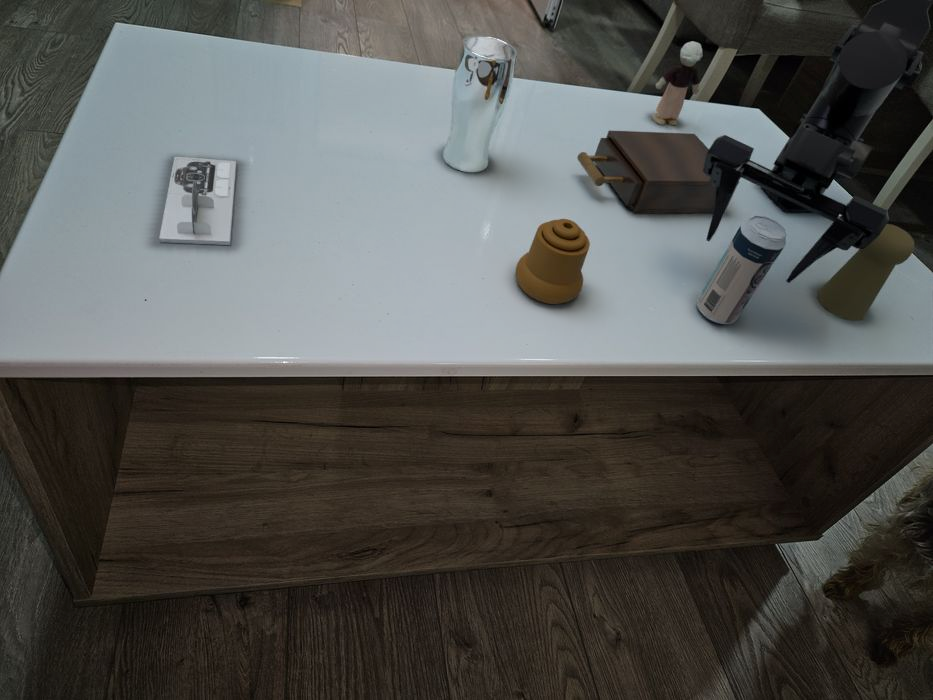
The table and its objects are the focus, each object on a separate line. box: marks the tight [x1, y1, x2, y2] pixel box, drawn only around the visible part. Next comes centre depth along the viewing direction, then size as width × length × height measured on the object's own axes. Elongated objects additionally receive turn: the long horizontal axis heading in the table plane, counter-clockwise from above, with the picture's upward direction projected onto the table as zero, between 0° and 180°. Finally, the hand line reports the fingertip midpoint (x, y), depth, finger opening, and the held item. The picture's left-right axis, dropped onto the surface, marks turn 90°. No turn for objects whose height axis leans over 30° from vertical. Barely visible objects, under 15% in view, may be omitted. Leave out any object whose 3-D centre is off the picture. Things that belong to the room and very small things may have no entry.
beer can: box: [696, 215, 787, 325], centre depth 74 cm, size 5×5×12 cm
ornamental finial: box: [515, 218, 591, 305], centre depth 73 cm, size 8×8×8 cm
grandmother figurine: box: [651, 40, 703, 126], centre depth 107 cm, size 8×4×13 cm, turn 115°
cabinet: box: [605, 129, 740, 214], centre depth 94 cm, size 14×12×5 cm
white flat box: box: [158, 156, 237, 246], centre depth 72 cm, size 15×7×4 cm, turn 11°
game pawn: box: [816, 223, 915, 322], centre depth 81 cm, size 6×6×11 cm
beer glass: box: [442, 34, 518, 173], centre depth 86 cm, size 7×7×15 cm
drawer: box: [576, 137, 645, 207], centre depth 93 cm, size 18×11×3 cm, turn 107°
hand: (747, 260), depth 73 cm, fingers open, 9 cm apart
